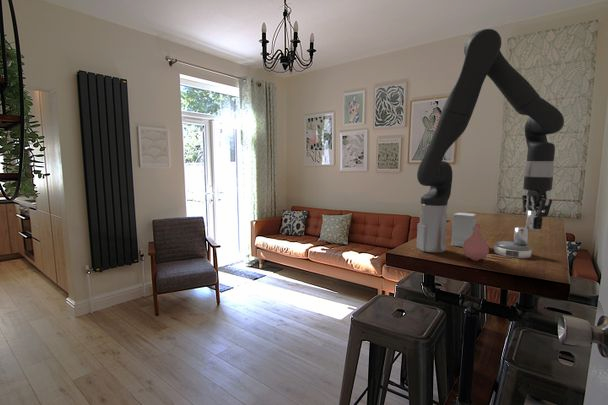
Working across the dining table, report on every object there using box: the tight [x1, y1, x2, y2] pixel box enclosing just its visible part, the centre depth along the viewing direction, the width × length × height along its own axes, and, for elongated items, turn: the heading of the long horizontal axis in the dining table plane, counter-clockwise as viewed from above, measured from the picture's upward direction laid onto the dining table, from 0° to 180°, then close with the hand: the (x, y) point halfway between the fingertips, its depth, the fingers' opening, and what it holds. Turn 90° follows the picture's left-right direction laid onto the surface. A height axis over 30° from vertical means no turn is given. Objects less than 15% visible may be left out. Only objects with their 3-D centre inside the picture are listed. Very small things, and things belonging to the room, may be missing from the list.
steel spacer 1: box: [513, 226, 529, 246], centre depth 113 cm, size 4×4×6 cm
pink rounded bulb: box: [462, 223, 490, 262], centre depth 105 cm, size 8×8×12 cm
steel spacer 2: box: [525, 210, 542, 231], centre depth 103 cm, size 4×4×6 cm
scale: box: [493, 240, 533, 259], centre depth 113 cm, size 11×11×3 cm
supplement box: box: [451, 212, 477, 248], centre depth 125 cm, size 7×7×13 cm
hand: (533, 227), depth 103 cm, fingers closed on steel spacer 2, 4 cm apart
